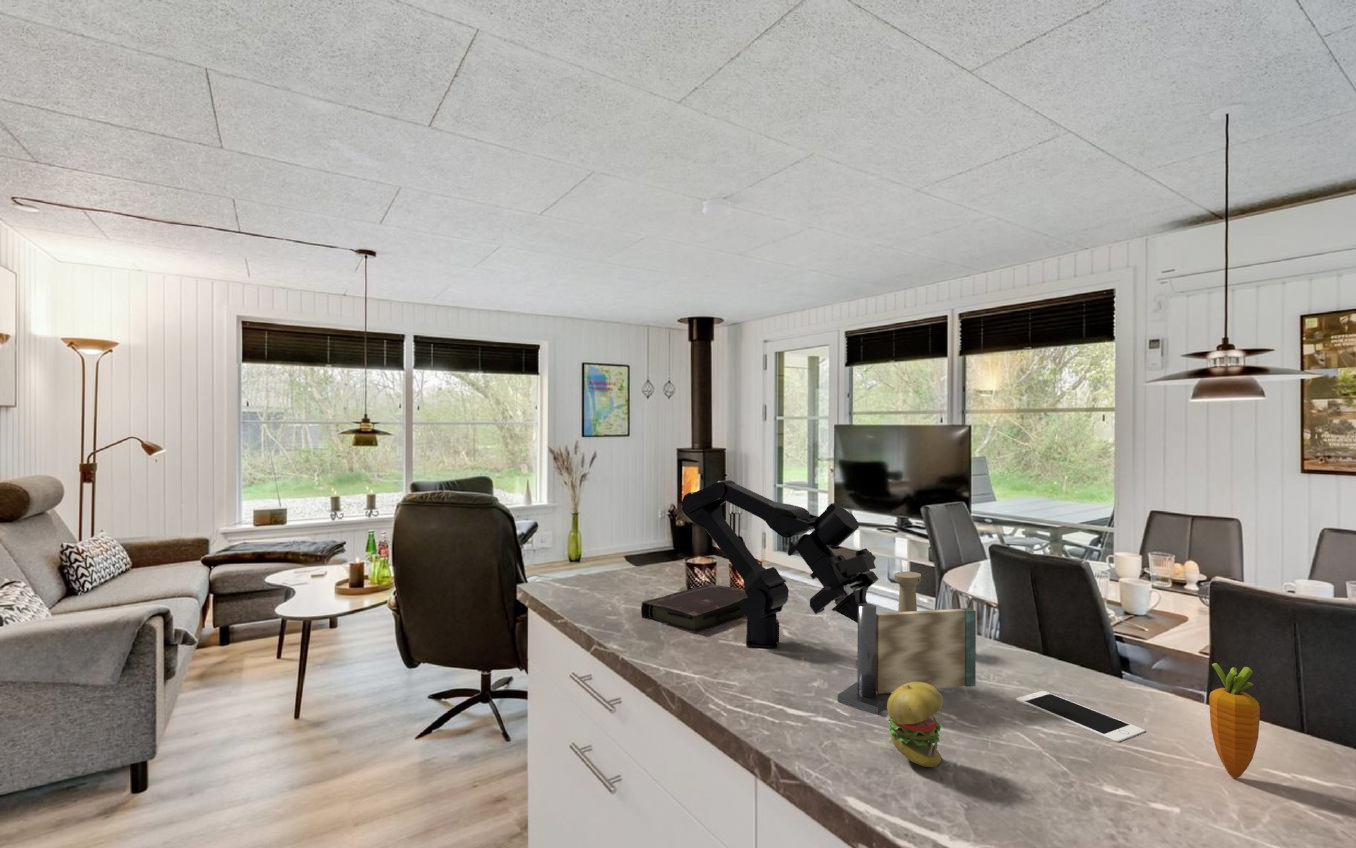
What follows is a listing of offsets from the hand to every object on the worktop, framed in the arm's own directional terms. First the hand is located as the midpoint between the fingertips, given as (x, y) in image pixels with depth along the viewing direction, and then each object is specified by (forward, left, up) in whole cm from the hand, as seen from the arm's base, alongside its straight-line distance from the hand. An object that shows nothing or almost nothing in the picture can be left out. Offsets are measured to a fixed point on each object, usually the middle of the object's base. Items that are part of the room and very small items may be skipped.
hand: (873, 629), depth 115 cm
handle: (+10, +17, -9) cm, 22 cm away
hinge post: (-4, -12, -8) cm, 15 cm away
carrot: (+40, -30, -9) cm, 51 cm away
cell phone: (+29, -13, -9) cm, 33 cm away
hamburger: (-1, -31, -9) cm, 32 cm away
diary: (-35, +33, -9) cm, 49 cm away
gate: (+7, -9, -7) cm, 13 cm away
